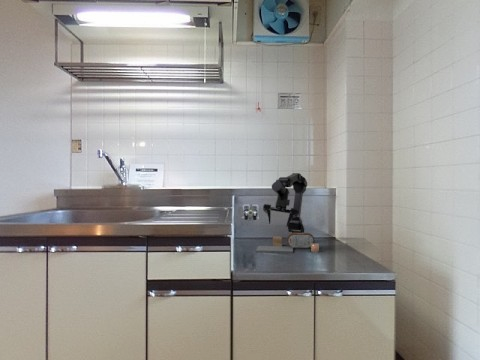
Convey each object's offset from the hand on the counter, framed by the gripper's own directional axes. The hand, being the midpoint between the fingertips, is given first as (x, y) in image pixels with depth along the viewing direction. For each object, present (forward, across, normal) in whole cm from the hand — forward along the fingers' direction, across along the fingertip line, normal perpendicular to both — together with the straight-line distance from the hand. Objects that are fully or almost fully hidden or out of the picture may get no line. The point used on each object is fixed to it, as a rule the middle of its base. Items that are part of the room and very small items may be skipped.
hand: (278, 225), depth 175 cm
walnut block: (+7, +1, +18) cm, 19 cm away
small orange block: (+9, +21, +5) cm, 23 cm away
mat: (+12, 0, +7) cm, 14 cm away
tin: (+7, +14, +14) cm, 21 cm away
